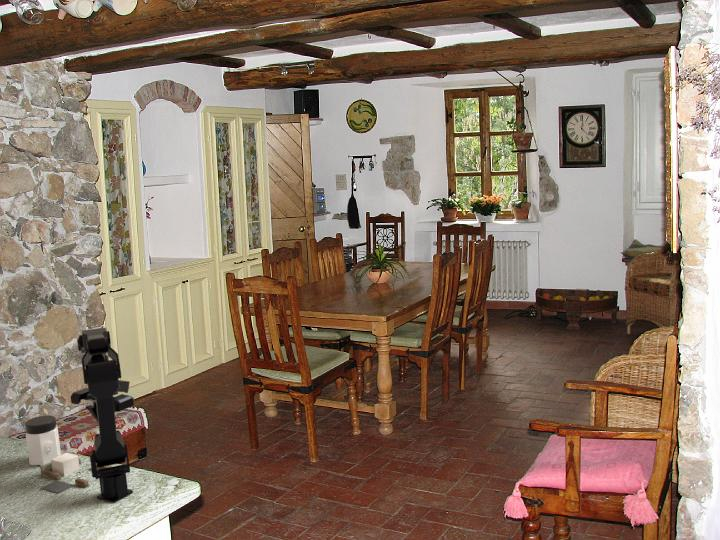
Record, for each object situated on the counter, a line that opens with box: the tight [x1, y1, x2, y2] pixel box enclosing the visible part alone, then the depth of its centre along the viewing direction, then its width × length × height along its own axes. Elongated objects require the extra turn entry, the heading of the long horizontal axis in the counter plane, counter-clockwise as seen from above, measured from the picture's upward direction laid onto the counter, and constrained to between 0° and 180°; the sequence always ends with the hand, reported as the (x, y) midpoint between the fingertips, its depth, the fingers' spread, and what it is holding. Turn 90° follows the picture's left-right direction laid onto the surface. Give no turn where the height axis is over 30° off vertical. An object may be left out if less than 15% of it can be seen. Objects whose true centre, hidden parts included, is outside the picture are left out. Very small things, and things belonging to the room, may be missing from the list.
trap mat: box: [39, 479, 75, 495], centre depth 198 cm, size 7×5×1 cm
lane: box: [40, 452, 113, 488], centre depth 205 cm, size 18×10×2 cm, turn 60°
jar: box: [24, 415, 62, 467], centre depth 215 cm, size 9×8×12 cm
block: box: [51, 452, 81, 477], centre depth 207 cm, size 5×5×4 cm
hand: (105, 429), depth 204 cm, fingers closed
